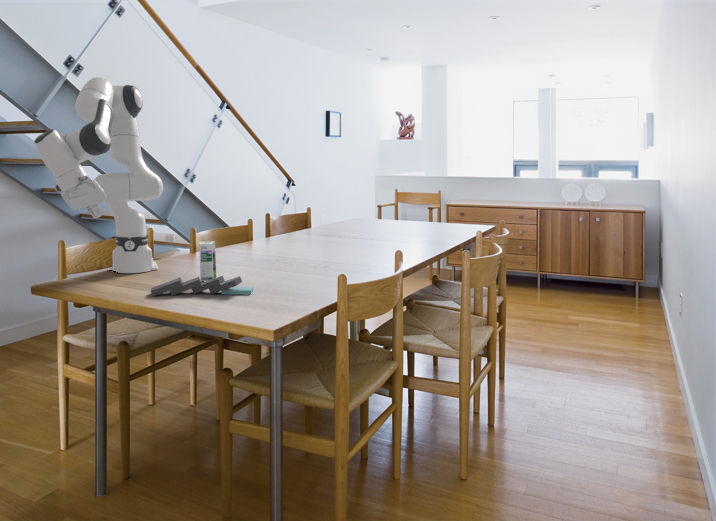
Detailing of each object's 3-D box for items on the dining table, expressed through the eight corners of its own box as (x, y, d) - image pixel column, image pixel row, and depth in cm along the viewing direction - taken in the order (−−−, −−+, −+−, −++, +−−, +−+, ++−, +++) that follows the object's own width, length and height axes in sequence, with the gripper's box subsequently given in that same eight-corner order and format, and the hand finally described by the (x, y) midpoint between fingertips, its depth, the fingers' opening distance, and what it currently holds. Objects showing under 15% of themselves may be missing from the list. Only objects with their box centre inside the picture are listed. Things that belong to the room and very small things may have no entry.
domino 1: (150, 291, 189) (179, 280, 191) (151, 287, 194) (180, 277, 196) (152, 296, 190) (182, 285, 191) (154, 293, 194) (182, 282, 196)
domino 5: (221, 290, 194) (251, 290, 194) (224, 286, 198) (253, 287, 199) (221, 296, 194) (251, 296, 194) (224, 292, 199) (253, 292, 199)
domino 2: (169, 290, 191) (198, 279, 193) (170, 287, 196) (198, 276, 197) (172, 295, 191) (201, 285, 193) (172, 292, 196) (201, 282, 198)
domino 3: (191, 288, 193) (218, 279, 192) (196, 285, 198) (222, 275, 197) (193, 294, 194) (220, 284, 192) (198, 290, 199) (224, 281, 197)
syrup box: (200, 282, 212) (199, 243, 209) (200, 278, 217) (199, 241, 215) (216, 281, 213) (215, 243, 211) (215, 278, 219) (214, 240, 216)
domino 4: (208, 288, 193) (234, 280, 190) (214, 284, 198) (240, 276, 195) (210, 294, 193) (236, 285, 191) (216, 290, 198) (242, 281, 196)
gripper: (96, 170, 178) (121, 208, 183) (68, 180, 192) (92, 215, 197) (79, 179, 174) (105, 218, 179) (52, 188, 188) (77, 225, 193)
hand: (98, 217), depth 188 cm, fingers closed
